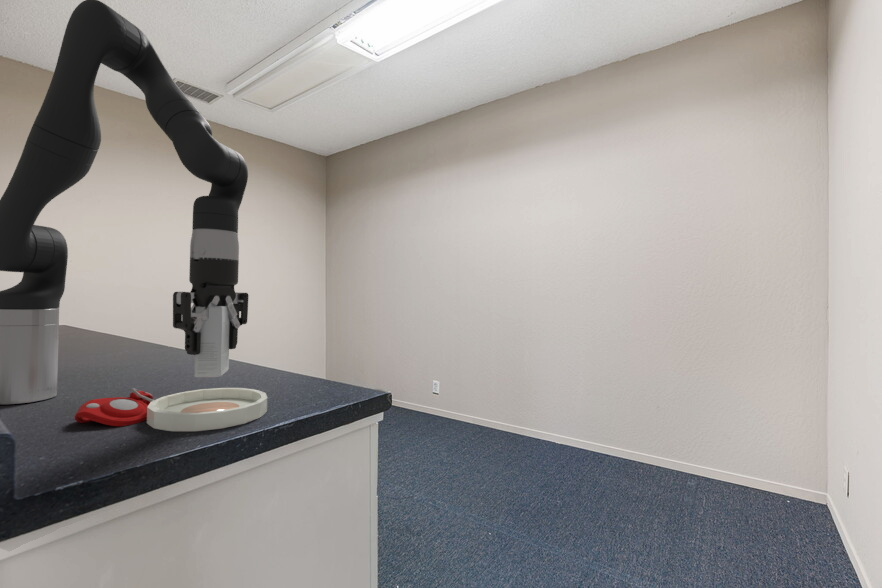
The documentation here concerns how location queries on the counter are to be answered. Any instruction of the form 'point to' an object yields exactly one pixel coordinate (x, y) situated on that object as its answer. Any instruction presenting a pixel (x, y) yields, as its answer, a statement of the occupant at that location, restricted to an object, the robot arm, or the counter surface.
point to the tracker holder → (116, 409)
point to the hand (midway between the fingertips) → (212, 351)
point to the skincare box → (213, 343)
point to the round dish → (206, 409)
